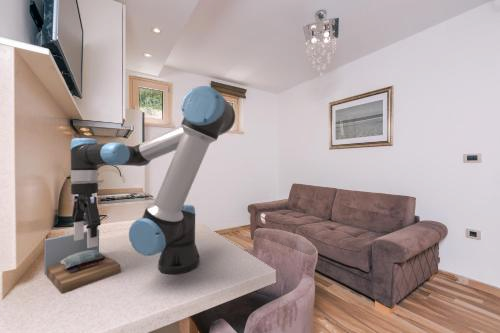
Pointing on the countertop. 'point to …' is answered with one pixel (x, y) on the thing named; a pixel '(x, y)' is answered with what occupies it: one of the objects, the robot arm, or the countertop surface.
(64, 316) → the countertop surface
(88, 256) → the packaged food
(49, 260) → the backboard
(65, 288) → the plinth
